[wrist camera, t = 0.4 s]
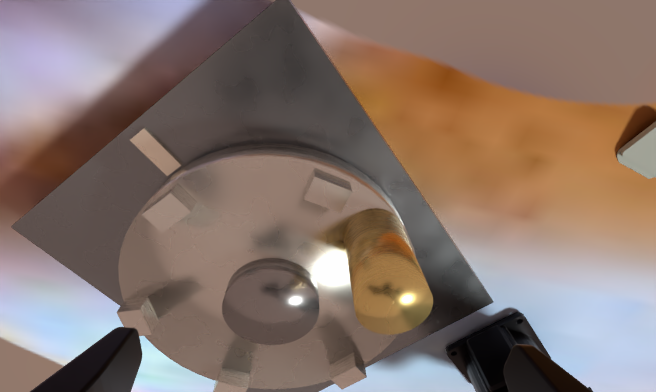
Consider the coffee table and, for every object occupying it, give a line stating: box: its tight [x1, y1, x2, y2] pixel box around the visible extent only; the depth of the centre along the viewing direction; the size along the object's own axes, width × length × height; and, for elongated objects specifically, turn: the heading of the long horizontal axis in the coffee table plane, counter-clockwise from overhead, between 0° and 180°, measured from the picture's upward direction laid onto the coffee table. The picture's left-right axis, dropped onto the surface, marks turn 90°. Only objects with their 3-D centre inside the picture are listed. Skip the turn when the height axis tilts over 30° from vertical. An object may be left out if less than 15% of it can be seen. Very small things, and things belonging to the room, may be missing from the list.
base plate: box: [11, 0, 493, 392], centre depth 22 cm, size 22×19×2 cm
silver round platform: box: [117, 143, 433, 392], centre depth 18 cm, size 16×16×7 cm
